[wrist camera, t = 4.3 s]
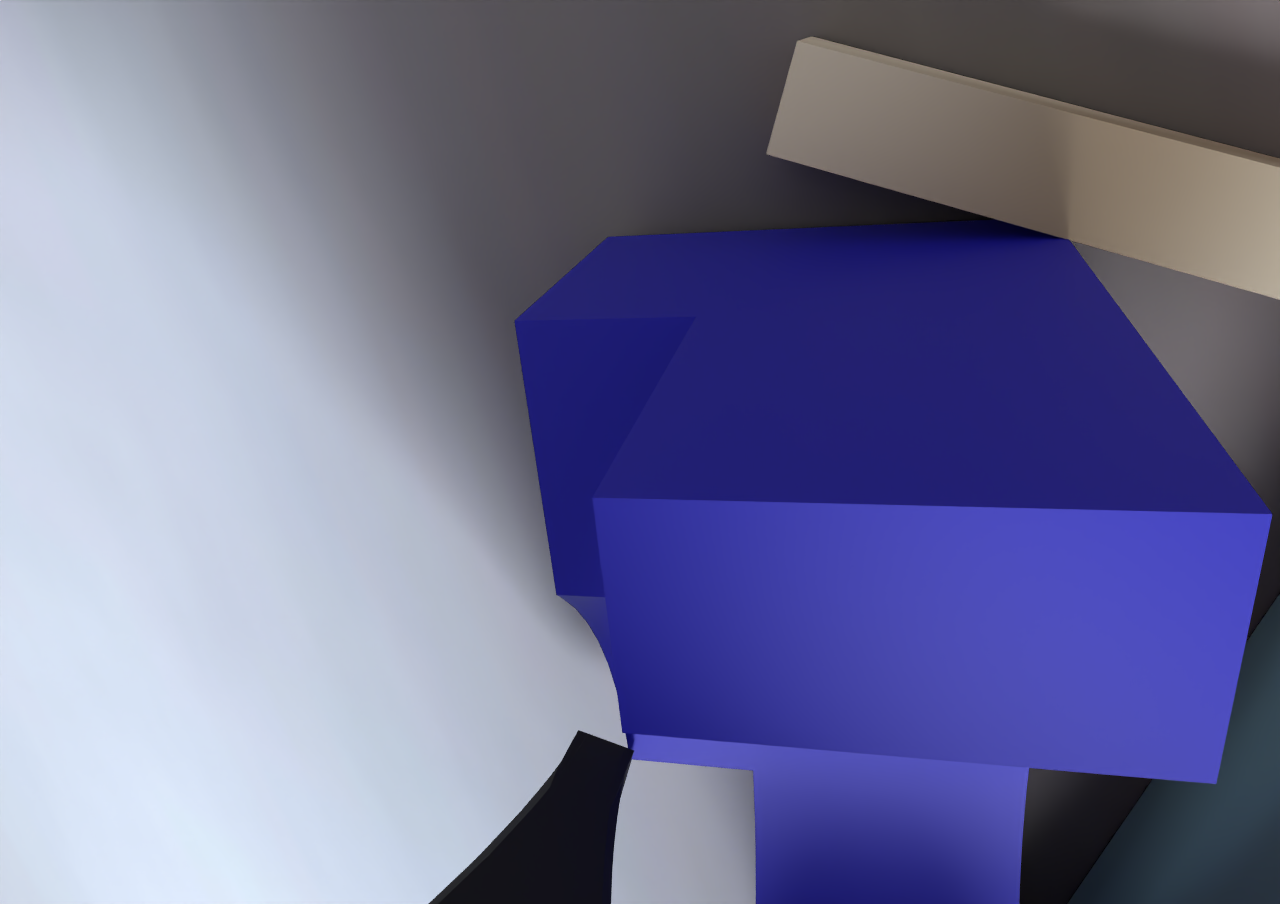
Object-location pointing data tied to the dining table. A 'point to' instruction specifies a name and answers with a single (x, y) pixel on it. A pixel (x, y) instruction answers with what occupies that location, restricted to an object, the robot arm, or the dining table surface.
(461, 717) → the dining table surface
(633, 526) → the cable clip
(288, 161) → the dining table surface
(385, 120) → the dining table surface
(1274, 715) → the pin bay
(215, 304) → the dining table surface
